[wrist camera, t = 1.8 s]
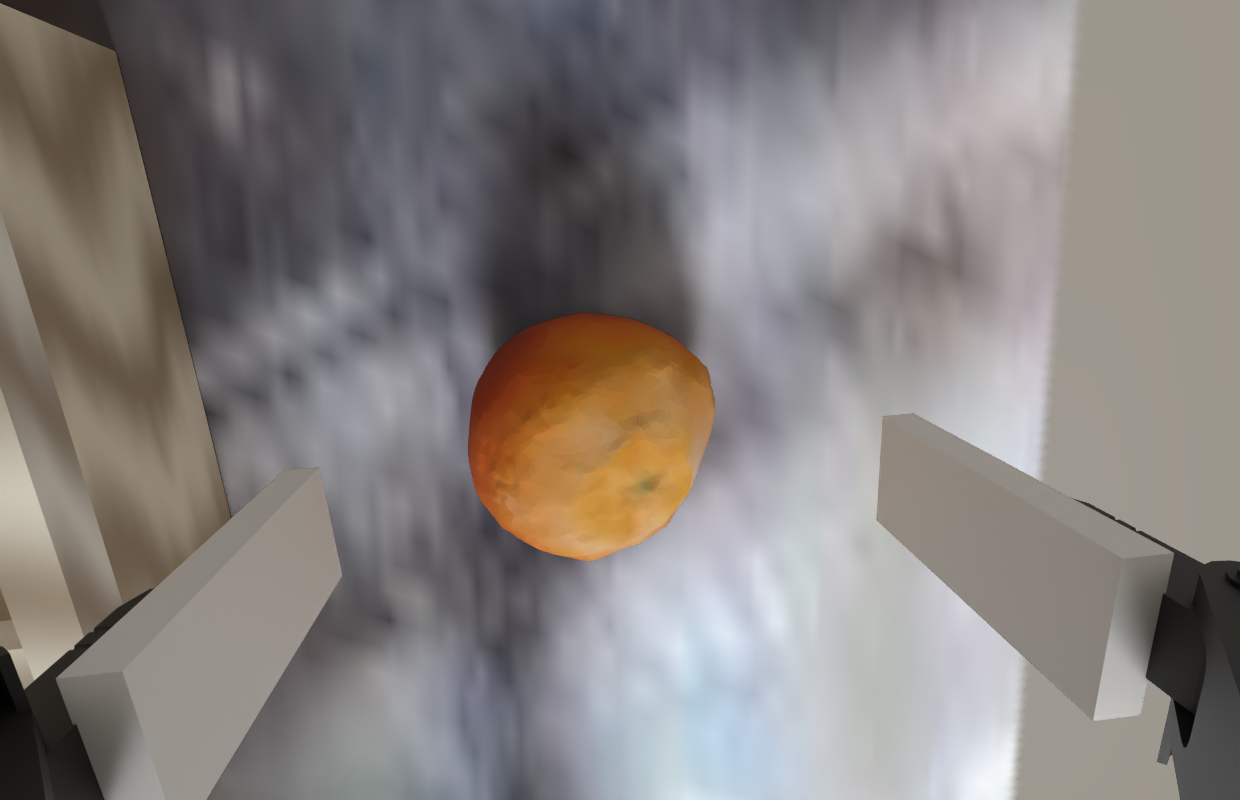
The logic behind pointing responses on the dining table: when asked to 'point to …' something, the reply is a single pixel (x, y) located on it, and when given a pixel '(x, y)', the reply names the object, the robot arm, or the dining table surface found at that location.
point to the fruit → (588, 433)
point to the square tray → (86, 357)
